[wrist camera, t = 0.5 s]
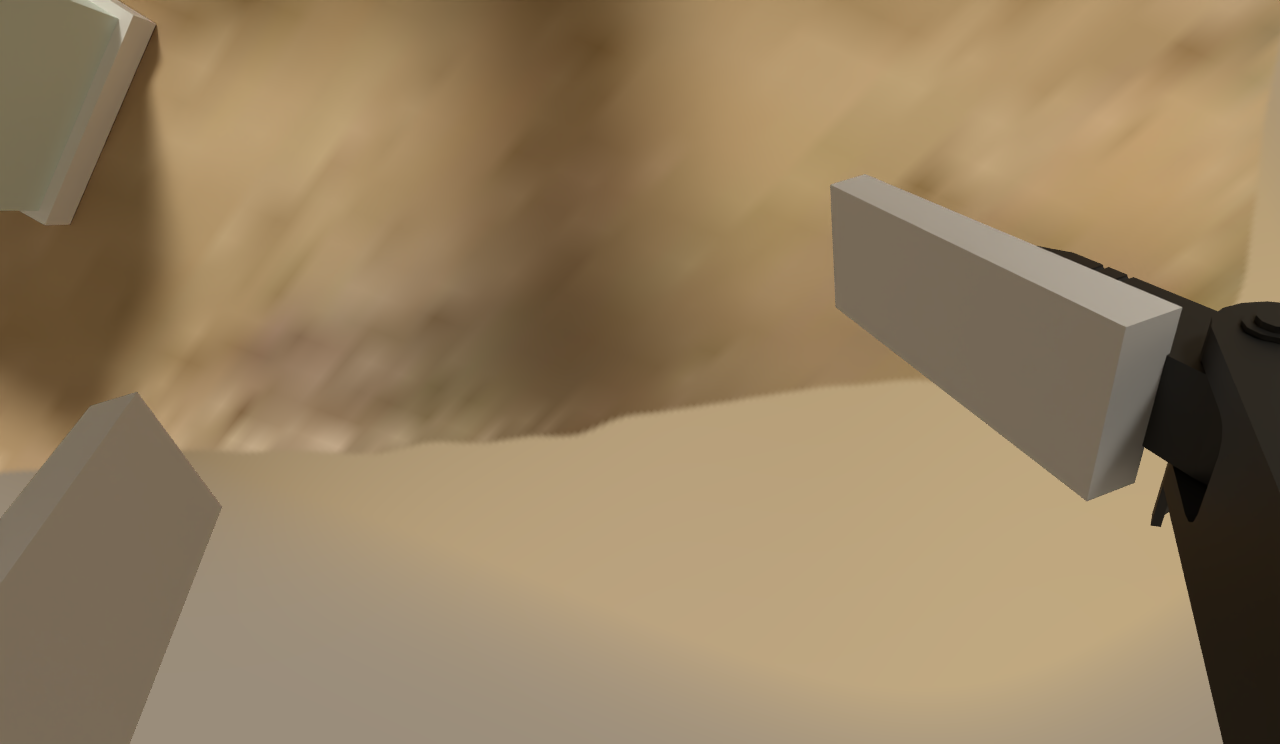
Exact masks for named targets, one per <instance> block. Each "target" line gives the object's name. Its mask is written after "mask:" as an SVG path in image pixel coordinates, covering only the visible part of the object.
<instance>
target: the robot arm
mask: <svg viewBox="0 0 1280 744" xmlns="http://www.w3.org/2000/svg"><path fill="white" fill-rule="evenodd" d="M830 190H831V212H832V235H833V258H834V281H835V303H836V308H837V309H839V310H840V311H841V312H843V313H844V314H845V315H847V316H848V317H849V318H850V319H852V320H853V321H854V322H856V323H857V324H858V325H859V326H861V327H862V328H863V329H865V330H866V331H867V332H869V333H870V334H871V335H872V336H874V337H875V338H876V339H878V340H879V341H880V342H881V343H883V344H884V345H885V346H887V347H888V348H889V349H891V350H892V351H893V352H894V353H896V354H897V355H898V356H900V357H901V358H902V359H903V360H905V361H906V362H907V363H909V364H910V365H911V366H913V367H914V368H915V369H916V370H918V371H919V372H920V373H922V374H923V375H924V376H925V377H927V378H928V379H929V380H931V381H932V382H933V383H935V384H936V385H937V386H939V387H940V388H941V389H942V390H944V391H945V392H946V393H947V394H949V395H950V396H951V397H953V398H954V399H955V400H957V401H958V402H959V403H961V404H962V405H963V406H964V407H966V408H967V409H968V410H969V411H971V412H972V413H973V414H975V415H976V416H977V417H978V418H980V419H981V420H982V421H984V422H985V423H986V424H988V425H989V426H990V427H991V428H993V429H994V430H995V431H997V432H998V433H999V434H1000V435H1002V436H1003V437H1004V438H1006V439H1007V440H1008V441H1010V442H1011V443H1012V444H1014V445H1015V446H1016V447H1017V448H1019V449H1020V450H1021V451H1023V452H1024V453H1025V454H1026V455H1028V456H1029V457H1030V458H1032V459H1033V460H1034V461H1036V462H1037V463H1038V464H1039V465H1041V466H1042V467H1043V468H1045V469H1046V470H1047V471H1048V472H1050V473H1051V474H1052V475H1054V476H1055V477H1056V478H1057V479H1059V480H1060V481H1061V482H1063V483H1064V484H1065V485H1067V486H1068V487H1069V488H1070V489H1072V490H1073V491H1074V492H1076V493H1077V494H1078V495H1080V496H1081V497H1082V498H1083V499H1085V500H1086V501H1089V500H1091V499H1094V498H1096V497H1099V496H1101V495H1104V494H1107V493H1109V492H1112V491H1114V490H1117V489H1120V488H1122V487H1124V486H1127V485H1130V484H1133V483H1134V482H1135V479H1136V476H1137V472H1138V468H1139V465H1140V461H1141V457H1142V454H1143V450H1144V447H1145V448H1146V449H1148V450H1150V451H1151V452H1153V453H1155V454H1156V455H1157V456H1159V457H1161V458H1162V459H1164V460H1166V461H1167V462H1168V464H1167V467H1166V470H1165V474H1164V477H1163V480H1162V483H1161V487H1160V490H1159V493H1158V497H1157V500H1156V503H1155V507H1154V510H1153V513H1152V519H1151V526H1159V527H1161V524H1162V521H1163V518H1164V515H1165V514H1166V513H1168V512H1169V513H1170V517H1171V521H1172V525H1173V530H1174V534H1175V538H1176V543H1177V547H1178V552H1179V556H1180V560H1181V564H1182V569H1183V573H1184V577H1185V582H1186V586H1187V590H1188V594H1189V598H1190V602H1191V607H1192V611H1193V615H1194V620H1195V624H1196V629H1197V633H1198V637H1199V641H1200V646H1201V650H1202V654H1203V658H1204V663H1205V667H1206V671H1207V676H1208V680H1209V684H1210V689H1211V693H1212V697H1213V701H1214V705H1215V710H1216V714H1217V718H1218V723H1219V727H1220V731H1221V735H1222V740H1223V744H1280V303H1277V302H1251V303H1240V304H1236V305H1233V306H1229V307H1225V308H1222V309H1221V310H1220V311H1215V310H1213V309H1210V308H1208V307H1206V306H1203V305H1201V304H1198V303H1196V302H1193V301H1191V300H1188V299H1186V298H1183V297H1181V296H1178V295H1176V294H1174V293H1171V292H1169V291H1166V290H1164V289H1161V288H1159V287H1156V286H1154V285H1151V284H1149V283H1146V282H1144V281H1142V280H1139V279H1137V278H1134V277H1133V278H1130V279H1129V278H1128V277H1127V274H1124V273H1122V272H1119V271H1117V270H1114V269H1112V268H1110V267H1108V268H1105V269H1104V267H1103V265H1102V264H1100V263H1097V262H1095V261H1092V260H1090V259H1087V258H1085V257H1083V256H1080V255H1078V254H1075V253H1072V252H1066V251H1061V250H1056V249H1050V248H1045V247H1040V246H1035V245H1033V244H1030V243H1028V242H1026V241H1023V240H1021V239H1018V238H1016V237H1014V236H1011V235H1009V234H1007V233H1004V232H1002V231H999V230H997V229H995V228H992V227H990V226H987V225H985V224H983V223H980V222H978V221H976V220H973V219H971V218H968V217H966V216H964V215H961V214H959V213H957V212H954V211H952V210H949V209H947V208H945V207H942V206H940V205H937V204H935V203H933V202H930V201H928V200H926V199H923V198H921V197H918V196H916V195H914V194H911V193H909V192H907V191H904V190H902V189H899V188H897V187H895V186H892V185H890V184H887V183H885V182H883V181H880V180H878V179H876V178H873V177H871V176H868V175H866V174H864V175H861V176H858V177H854V178H851V179H847V180H844V181H841V182H837V183H834V184H831V185H830ZM221 508H222V506H221V505H220V503H219V502H218V501H217V499H216V498H215V496H214V495H213V494H212V492H211V491H210V490H209V488H208V487H207V486H206V484H205V483H204V482H203V480H202V479H201V478H200V476H199V475H198V473H197V472H196V471H195V470H194V468H193V467H192V465H191V464H190V463H189V461H188V460H187V459H186V457H185V456H184V455H183V453H182V452H181V450H180V449H179V448H178V446H177V445H176V444H175V442H174V441H173V440H172V438H171V437H170V436H169V434H168V433H167V432H166V430H165V429H164V428H163V426H162V425H161V423H160V422H159V421H158V419H157V418H156V417H155V415H154V414H153V413H152V411H151V410H150V409H149V407H148V406H147V405H146V403H145V402H144V400H143V399H142V398H141V396H140V395H139V394H138V392H135V393H132V394H128V395H125V396H122V397H118V398H115V399H112V400H108V401H105V402H102V403H98V404H95V405H92V406H90V407H89V408H88V409H87V411H86V412H85V413H84V414H83V416H82V417H81V418H80V419H79V421H78V422H77V423H76V424H75V426H74V427H73V428H72V429H71V431H70V432H69V433H68V434H67V436H66V437H65V438H64V439H63V441H62V442H61V443H60V444H59V446H58V447H57V448H56V449H55V451H54V452H53V453H52V454H51V456H50V457H49V458H48V459H47V461H46V462H45V463H44V464H43V466H42V467H41V468H40V469H39V471H38V472H37V473H36V474H35V476H34V477H33V478H32V479H31V481H30V482H29V483H28V484H27V486H26V487H25V488H24V489H23V491H22V492H21V493H20V494H19V496H18V497H17V498H16V499H15V501H14V502H13V503H12V504H11V506H10V507H9V508H8V509H7V511H6V512H5V513H4V514H3V516H2V517H1V518H0V744H130V741H131V739H132V736H133V734H134V731H135V729H136V726H137V724H138V721H139V718H140V716H141V713H142V711H143V708H144V706H145V703H146V700H147V698H148V695H149V693H150V690H151V688H152V685H153V682H154V680H155V677H156V675H157V672H158V670H159V667H160V665H161V662H162V659H163V657H164V654H165V652H166V649H167V647H168V644H169V642H170V639H171V636H172V634H173V631H174V629H175V626H176V623H177V621H178V618H179V616H180V613H181V611H182V608H183V606H184V603H185V601H186V598H187V595H188V593H189V590H190V587H191V585H192V583H193V580H194V577H195V575H196V572H197V570H198V567H199V564H200V562H201V559H202V557H203V554H204V552H205V549H206V546H207V544H208V542H209V539H210V536H211V534H212V531H213V529H214V526H215V524H216V521H217V518H218V516H219V513H220V511H221Z"/></svg>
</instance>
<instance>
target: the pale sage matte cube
mask: <svg viewBox="0 0 1280 744" xmlns="http://www.w3.org/2000/svg"><path fill="white" fill-rule="evenodd" d="M117 22H118V18H117V17H115V16H113V15H112V14H110V13H109V12H107V11H105V10H104V9H102V8H100V7H99V6H97V5H96V4H94V3H92V2H91V1H89V0H0V211H39V208H40V206H41V204H42V201H43V199H44V196H45V194H46V192H47V189H48V187H49V184H50V182H51V180H52V177H53V175H54V172H55V170H56V168H57V165H58V163H59V161H60V158H61V156H62V153H63V151H64V149H65V146H66V144H67V141H68V139H69V137H70V134H71V132H72V129H73V127H74V125H75V122H76V120H77V117H78V115H79V113H80V110H81V108H82V105H83V103H84V101H85V98H86V96H87V93H88V91H89V89H90V86H91V84H92V81H93V79H94V77H95V74H96V72H97V69H98V67H99V65H100V62H101V60H102V57H103V55H104V53H105V50H106V48H107V45H108V43H109V41H110V38H111V36H112V33H113V31H114V29H115V26H116V24H117Z"/></svg>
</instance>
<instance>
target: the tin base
mask: <svg viewBox="0 0 1280 744" xmlns="http://www.w3.org/2000/svg"><path fill="white" fill-rule="evenodd" d="M89 1H91V2H92V3H94V4H96V5H97V6H99V7H100V8H102V9H104V10H105V11H107V12H109V13H110V14H112V15H113V16H115V17H117V18H118V22H117V24H116V26H115V29H114V31H113V33H112V36H111V38H110V41H109V43H108V45H107V48H106V50H105V53H104V55H103V57H102V60H101V62H100V65H99V67H98V69H97V72H96V74H95V77H94V79H93V81H92V84H91V86H90V89H89V91H88V93H87V96H86V98H85V101H84V103H83V105H82V108H81V110H80V113H79V115H78V117H77V120H76V122H75V125H74V127H73V129H72V132H71V134H70V137H69V139H68V141H67V144H66V146H65V149H64V151H63V153H62V156H61V158H60V161H59V163H58V165H57V168H56V170H55V172H54V175H53V177H52V180H51V182H50V184H49V187H48V189H47V192H46V194H45V196H44V199H43V201H42V204H41V206H40V208H39V211H20V212H22V213H24V214H26V215H27V216H29V217H31V218H33V219H34V220H36V221H38V222H40V223H42V224H43V225H70V223H71V221H72V219H73V216H74V214H75V212H76V209H77V207H78V205H79V202H80V200H81V198H82V195H83V193H84V191H85V188H86V186H87V184H88V181H89V179H90V177H91V174H92V172H93V170H94V167H95V165H96V163H97V160H98V158H99V156H100V153H101V151H102V149H103V146H104V144H105V142H106V139H107V137H108V135H109V132H110V130H111V128H112V125H113V123H114V121H115V118H116V116H117V114H118V111H119V109H120V107H121V104H122V102H123V100H124V97H125V95H126V93H127V90H128V88H129V86H130V84H131V81H132V79H133V77H134V74H135V72H136V70H137V67H138V65H139V63H140V60H141V58H142V56H143V53H144V51H145V49H146V46H147V44H148V42H149V39H150V37H151V35H152V32H153V30H154V28H155V25H156V24H155V23H154V22H152V21H151V20H149V19H147V18H146V17H144V16H143V15H141V14H139V13H138V12H136V11H134V10H133V9H131V8H130V7H128V6H126V5H125V4H123V3H122V2H120V1H118V0H89Z"/></svg>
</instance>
